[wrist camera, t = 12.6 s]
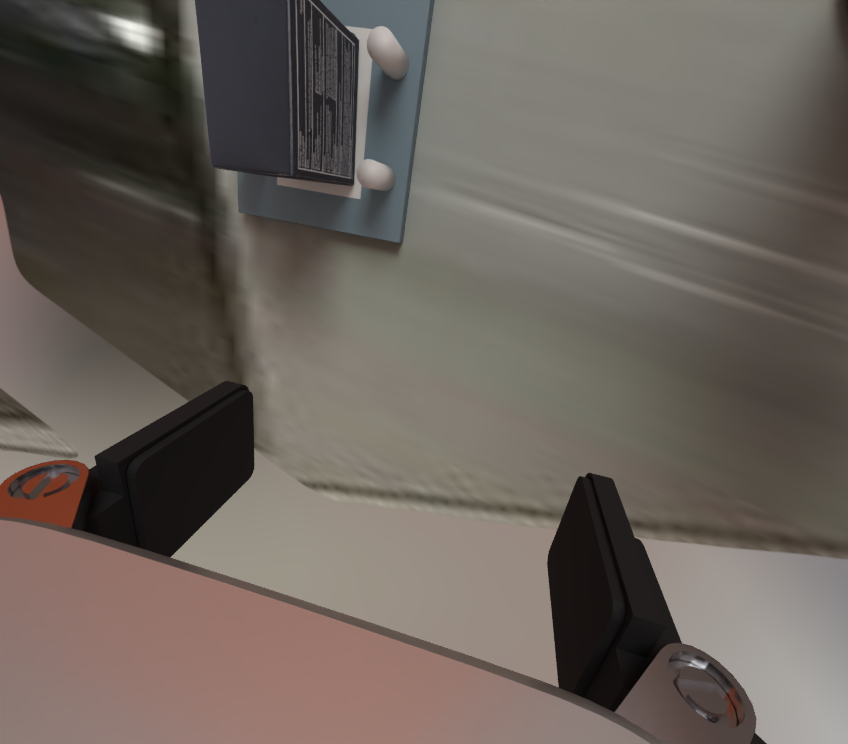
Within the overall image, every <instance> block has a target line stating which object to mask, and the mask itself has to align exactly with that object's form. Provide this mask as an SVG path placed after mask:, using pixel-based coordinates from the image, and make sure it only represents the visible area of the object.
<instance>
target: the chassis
mask: <svg viewBox="0 0 848 744" xmlns="http://www.w3.org/2000/svg"><path fill="white" fill-rule="evenodd" d="M320 1H321V2H322V3H323V4H324V5H325V6H326V7H327V8H328V9H329V10H330V11H331V12H332V13H333V14H334V15H335V16H336V17H337V18H338V19H339V21H340V22H341V23H342V24H343V25H344V26H345V27H346V28H347V29H348V30H349V31H350V32H352V33H354V34H355V35H356V37H357V38H358V39H359V63H358V93H357V120H356V149H355V174H354V185H353V186H346V185H337V184H329V183H321V182H312V181H304V180H297V179H288V178H280V177H272V176H264V175H258V174H251V173H245V172H239V171H238V205H239V212H240V213H245V214H250V215H255V216H261V217H266V218H271V219H277V220H282V221H287V222H292V223H298V224H303V225H308V226H313V227H319V228H324V229H329V230H334V231H340V232H345V233H350V234H355V235H361V236H366V237H371V238H376V239H382V240H387V241H392V242H397V243H401V242H403V236H404V228H405V221H406V213H407V205H408V197H409V190H410V182H411V174H412V167H413V159H414V151H415V144H416V136H417V128H418V121H419V113H420V105H421V98H422V90H423V82H424V75H425V67H426V59H427V52H428V44H429V36H430V29H431V21H432V13H433V6H434V0H320Z"/></svg>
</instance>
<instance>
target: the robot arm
mask: <svg viewBox="0 0 848 744" xmlns="http://www.w3.org/2000/svg"><path fill="white" fill-rule="evenodd" d="M95 460H96V466H94V467H93V468H91V469H88V467H87V466H86V465H85V464H83V463H80V462H78V461H73V460H55V461H49V462H44V463H40V464H37V465H34V466H30V467H27V468H25V469H23V470H21V471H19V472H17V473H15V474H13V475H12V476H10V477H9V478H7V479H6V480H4V482H3V483H2V484H1V485H0V744H766V743H765V742H764V741H763V740H762V739H761V738H760V737H759V736H758V735H757V734H756V733H755V728H756V716H755V712H754V709H753V705H752V703H751V701H750V700H749V698H748V696H747V694H746V692H745V691H744V689H743V688H742V687H741V685H740V684H739V683H738V681H737V680H736V679H735V678H734V676H733V675H732V674H731V673H730V672H729V671H728V670H727V669H726V668H725V667H723V666H722V665H721V664H720V663H719V662H718V661H717V660H715V659H714V658H712V657H711V656H709V655H708V654H706V653H705V652H703V651H701V650H699V649H697V648H695V647H693V646H690V645H686V644H682V643H681V640H680V637H679V635H678V632H677V630H676V627H675V624H674V622H673V619H672V617H671V614H670V612H669V609H668V606H667V604H666V601H665V599H664V596H663V594H662V591H661V589H660V586H659V583H658V581H657V578H656V576H655V573H654V571H653V568H652V565H651V563H650V560H649V558H648V555H647V553H646V550H645V547H644V546H643V544H642V542H641V541H640V540H639V539H636V538H635V537H634V535H633V532H632V529H631V527H630V524H629V521H628V519H627V516H626V513H625V510H624V508H623V505H622V502H621V500H620V497H619V494H618V492H617V489H616V486H615V483H614V481H613V479H611V478H608V477H604V476H600V475H596V474H592V473H588V474H587V475H586V477H581V476H580V477H578V479H577V481H576V484H575V486H574V489H573V491H572V494H571V496H570V499H569V502H568V504H567V507H566V509H565V512H564V514H563V517H562V519H561V522H560V525H559V527H558V530H557V532H556V535H555V537H554V540H553V542H552V545H551V548H550V550H549V554H548V562H547V564H548V576H549V586H550V598H551V608H552V619H553V629H554V641H555V651H556V662H557V672H558V683H559V688H558V687H556V686H553V685H551V684H548V683H545V682H543V681H540V680H537V679H534V678H531V677H529V676H526V675H523V674H520V673H517V672H514V671H511V670H509V669H506V668H503V667H500V666H497V665H494V664H492V663H489V662H486V661H483V660H480V659H477V658H475V657H472V656H469V655H465V654H463V653H460V652H457V651H453V650H451V649H448V648H445V647H442V646H439V645H436V644H433V643H430V642H427V641H424V640H420V639H418V638H414V637H412V636H409V635H406V634H403V633H400V632H397V631H394V630H391V629H388V628H385V627H382V626H379V625H376V624H373V623H370V622H367V621H364V620H361V619H358V618H354V617H352V616H349V615H346V614H342V613H339V612H336V611H333V610H330V609H327V608H324V607H321V606H318V605H315V604H312V603H309V602H306V601H303V600H300V599H297V598H294V597H291V596H288V595H284V594H281V593H278V592H275V591H272V590H269V589H266V588H263V587H260V586H257V585H254V584H251V583H248V582H245V581H241V580H238V579H235V578H232V577H229V576H226V575H223V574H220V573H217V572H213V571H210V570H207V569H204V568H201V567H198V566H195V565H191V564H188V563H185V562H182V561H179V560H176V559H173V558H170V557H171V556H172V555H173V554H174V553H175V552H176V551H177V550H178V549H179V548H180V547H181V546H182V545H183V544H184V543H185V542H186V541H187V540H188V539H189V538H190V537H191V536H192V535H193V534H194V533H195V532H196V531H197V530H198V529H199V528H200V527H201V526H202V525H203V524H204V523H205V522H206V521H207V520H208V519H209V518H210V517H211V516H212V515H213V514H214V513H215V512H216V511H217V510H218V509H219V508H220V507H221V506H222V505H223V504H224V503H225V502H226V501H227V500H228V499H229V498H230V497H231V496H232V495H233V494H234V493H235V492H236V491H237V490H238V489H239V488H240V487H241V486H242V485H243V484H244V483H246V481H248V479H249V478H250V477H251V475H252V473H253V470H254V425H253V395H252V393H251V392H249V389H248V387H247V386H245V385H242V384H238V383H234V382H230V381H225V382H223V383H221V384H219V385H217V386H216V387H214V388H212V389H210V390H209V391H207V392H205V393H203V394H202V395H200V396H198V397H196V398H195V399H193V400H191V401H189V402H188V403H186V404H184V405H183V406H181V407H179V408H177V409H176V410H174V411H172V412H171V413H169V414H167V415H165V416H163V417H162V418H160V419H158V420H156V421H155V422H153V423H151V424H150V425H148V426H146V427H145V428H143V429H141V430H139V431H137V432H136V433H134V434H132V435H130V436H129V437H127V438H125V439H123V440H122V441H120V442H118V443H117V444H115V445H113V446H111V447H110V448H108V449H106V450H104V451H103V452H101V453H99V454H97V455H96V456H95Z"/></svg>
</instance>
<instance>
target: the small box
mask: <svg viewBox="0 0 848 744" xmlns="http://www.w3.org/2000/svg"><path fill="white" fill-rule="evenodd" d="M195 5H196V15H197V24H198V34H199V44H200V54H201V64H202V75H203V85H204V95H205V106H206V116H207V126H208V137H209V148H210V159H211V166H212V167H214V168H219V169H225V170H232V171H239V172H245V173H251V174H258V175H264V176H272V177H280V178H288V179H297V180H304V181H312V182H321V183H329V184H337V185H346V186H353V185H354V174H355V149H356V120H357V93H358V63H359V39H358V38H357V37H356V35H355V34H354V33H352V32H350V31H349V30H348V29H347V28H346V27H345V26H344V25H343V24H342V23H341V22H340V21H339V19H338V18H337V17H336V16H335V15H334V14H333V13H332V12H331V11H330V10H329V9H328V8H327V7H326V6H325V5H324V4H323V3H322V2H321V1H320V0H195Z"/></svg>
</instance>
